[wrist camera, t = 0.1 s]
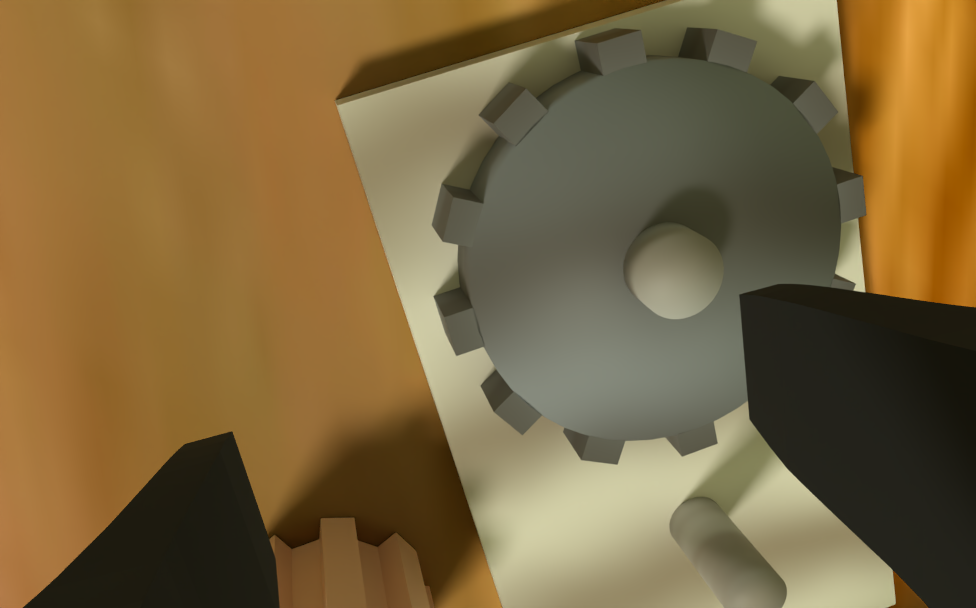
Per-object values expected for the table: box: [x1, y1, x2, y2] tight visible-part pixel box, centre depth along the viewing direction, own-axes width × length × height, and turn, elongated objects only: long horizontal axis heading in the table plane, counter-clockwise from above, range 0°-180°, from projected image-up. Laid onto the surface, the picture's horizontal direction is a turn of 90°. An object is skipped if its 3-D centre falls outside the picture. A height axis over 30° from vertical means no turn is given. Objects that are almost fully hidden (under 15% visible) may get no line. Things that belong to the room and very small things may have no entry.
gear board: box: [335, 0, 896, 608], centre depth 22 cm, size 20×12×4 cm, turn 15°
